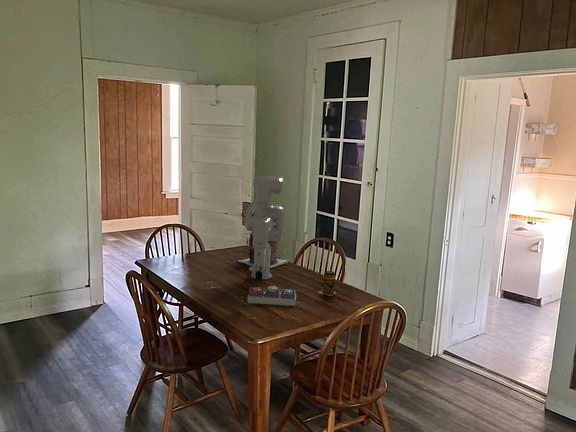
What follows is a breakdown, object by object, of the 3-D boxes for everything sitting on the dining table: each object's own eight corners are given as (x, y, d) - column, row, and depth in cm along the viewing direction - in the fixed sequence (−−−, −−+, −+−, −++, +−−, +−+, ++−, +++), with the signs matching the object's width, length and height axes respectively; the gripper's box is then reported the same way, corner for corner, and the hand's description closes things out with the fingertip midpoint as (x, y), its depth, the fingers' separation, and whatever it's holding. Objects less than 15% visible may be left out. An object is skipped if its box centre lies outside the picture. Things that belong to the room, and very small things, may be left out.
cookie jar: (262, 256, 329) (264, 210, 323) (289, 263, 314) (292, 216, 308) (236, 262, 310) (237, 214, 305) (263, 271, 295) (266, 220, 289)
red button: (251, 294, 241) (251, 290, 240) (252, 291, 246) (252, 287, 245) (261, 295, 241) (261, 291, 240) (262, 291, 246) (262, 287, 245)
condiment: (331, 296, 255) (332, 274, 253) (317, 293, 259) (318, 271, 257) (336, 292, 261) (338, 271, 259) (322, 289, 266) (324, 268, 263)
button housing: (247, 302, 239) (247, 292, 238) (249, 296, 249) (250, 286, 248) (295, 305, 238) (295, 295, 237) (295, 299, 248) (296, 288, 247)
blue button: (282, 296, 240) (282, 292, 240) (283, 292, 245) (283, 289, 245) (292, 297, 240) (293, 293, 240) (293, 293, 245) (293, 289, 245)
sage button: (266, 292, 240) (267, 289, 240) (267, 289, 245) (267, 285, 245) (277, 293, 240) (277, 289, 240) (277, 290, 245) (278, 286, 245)
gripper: (266, 248, 231) (264, 284, 234) (269, 241, 246) (267, 275, 249) (250, 247, 231) (249, 283, 235) (254, 240, 246) (253, 274, 249)
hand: (258, 279), depth 242 cm, fingers closed
